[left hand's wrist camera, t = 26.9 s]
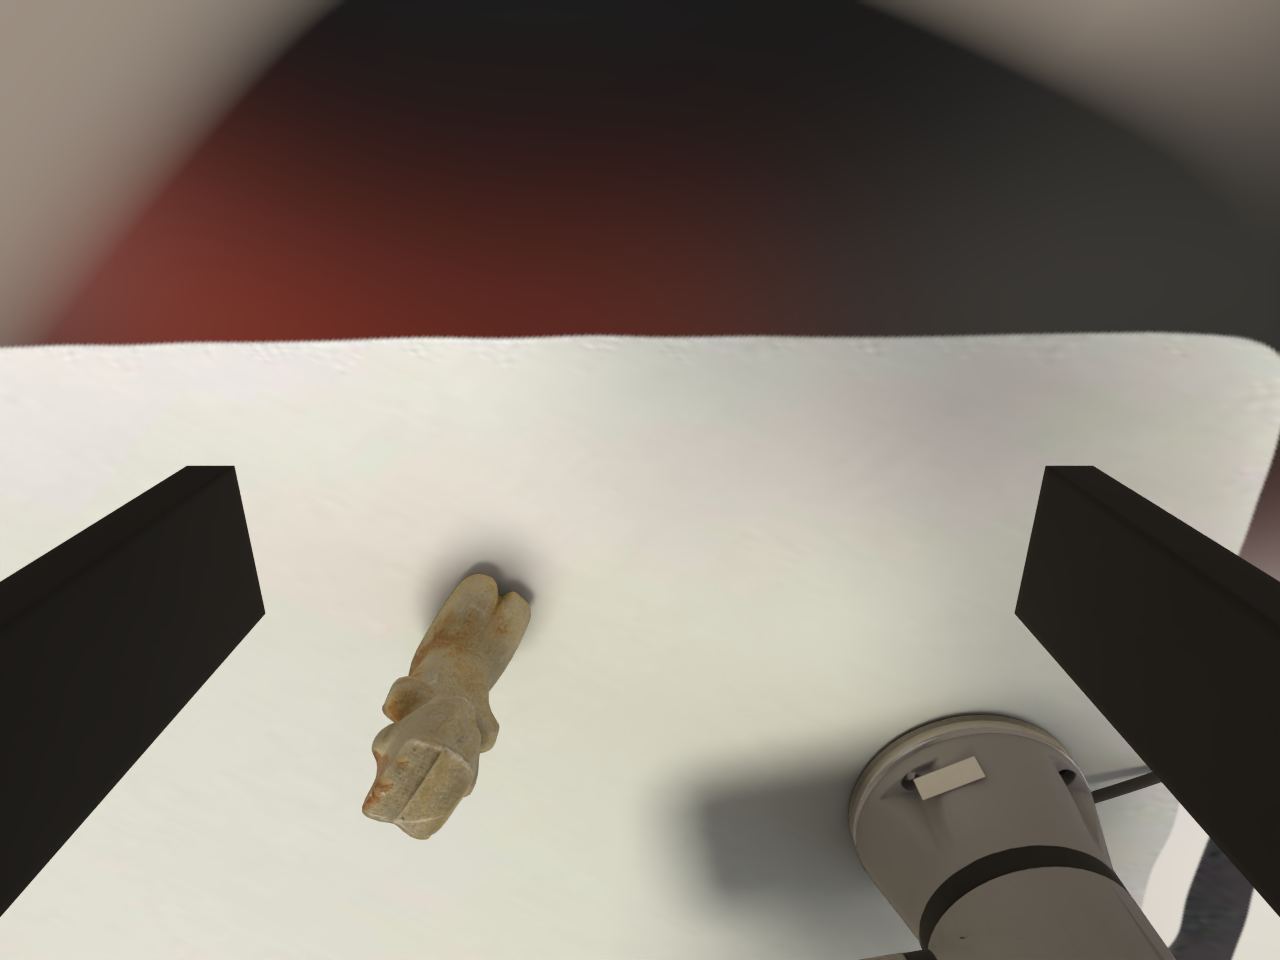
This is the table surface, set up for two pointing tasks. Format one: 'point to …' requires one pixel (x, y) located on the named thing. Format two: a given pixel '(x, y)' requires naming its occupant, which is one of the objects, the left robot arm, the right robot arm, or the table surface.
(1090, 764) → the table surface
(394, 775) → the sculpture
